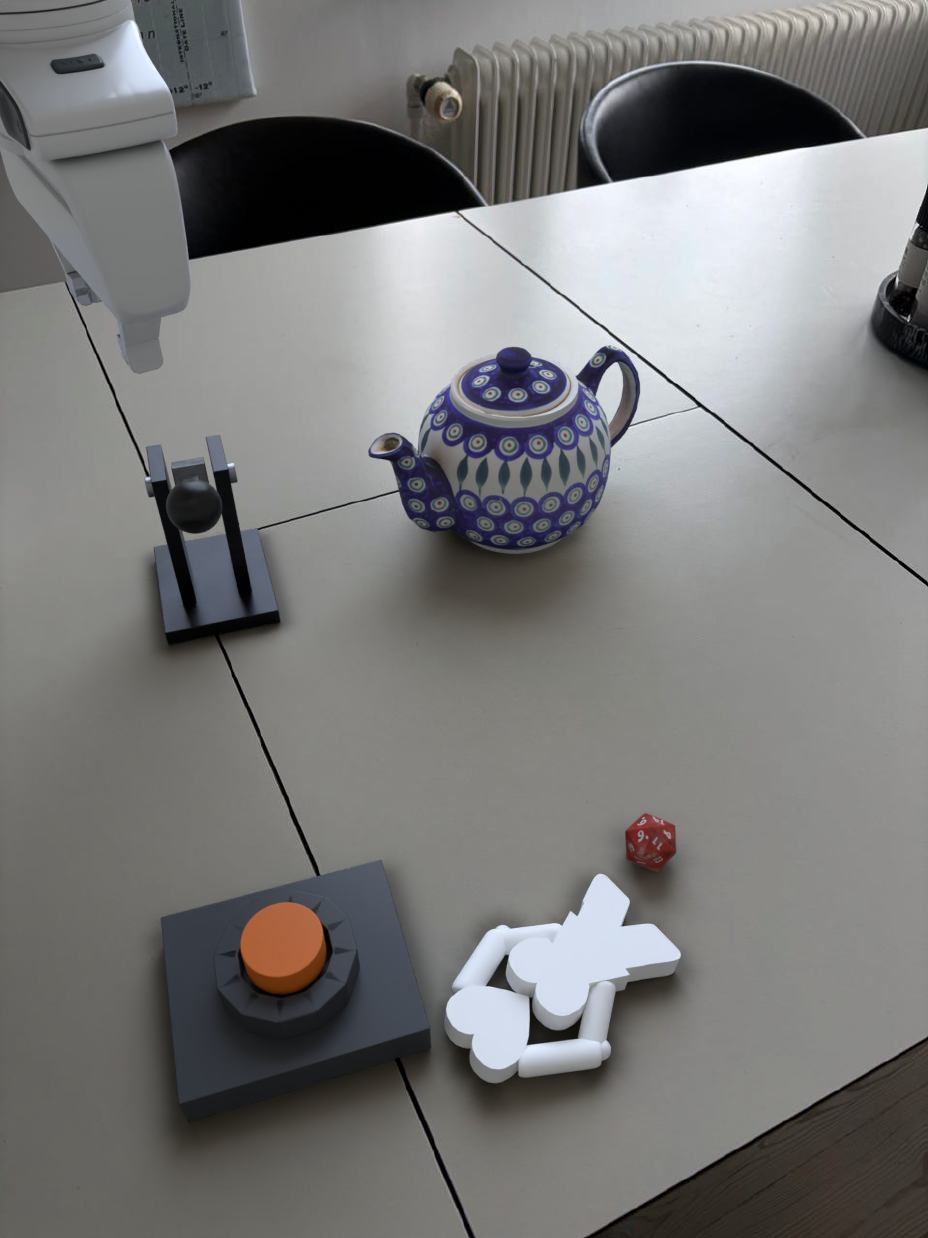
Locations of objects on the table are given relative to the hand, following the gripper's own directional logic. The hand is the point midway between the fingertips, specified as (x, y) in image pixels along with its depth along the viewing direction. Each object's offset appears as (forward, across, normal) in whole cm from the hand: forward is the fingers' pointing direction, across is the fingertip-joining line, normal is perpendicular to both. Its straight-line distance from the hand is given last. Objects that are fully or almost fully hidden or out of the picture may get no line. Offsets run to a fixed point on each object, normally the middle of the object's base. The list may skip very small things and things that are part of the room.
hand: (116, 330), depth 57 cm
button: (+19, +29, -6) cm, 36 cm away
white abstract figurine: (+23, +37, +6) cm, 44 cm away
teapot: (+23, +2, +27) cm, 35 cm away
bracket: (+23, -2, +3) cm, 23 cm away
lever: (+12, +3, +1) cm, 12 cm away
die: (+23, +33, +15) cm, 43 cm away
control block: (+23, +30, -6) cm, 38 cm away
